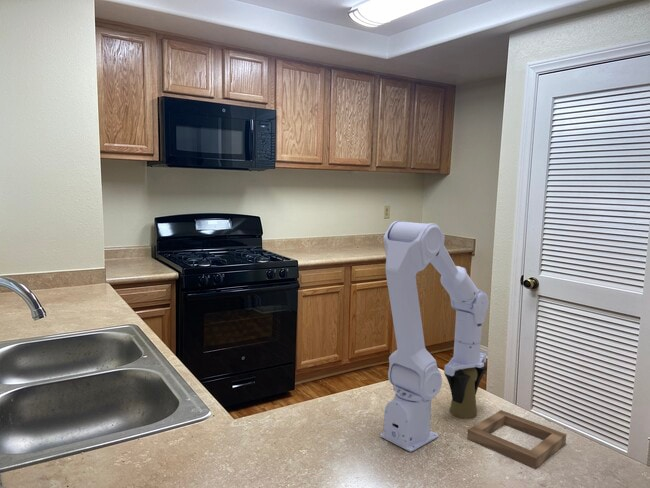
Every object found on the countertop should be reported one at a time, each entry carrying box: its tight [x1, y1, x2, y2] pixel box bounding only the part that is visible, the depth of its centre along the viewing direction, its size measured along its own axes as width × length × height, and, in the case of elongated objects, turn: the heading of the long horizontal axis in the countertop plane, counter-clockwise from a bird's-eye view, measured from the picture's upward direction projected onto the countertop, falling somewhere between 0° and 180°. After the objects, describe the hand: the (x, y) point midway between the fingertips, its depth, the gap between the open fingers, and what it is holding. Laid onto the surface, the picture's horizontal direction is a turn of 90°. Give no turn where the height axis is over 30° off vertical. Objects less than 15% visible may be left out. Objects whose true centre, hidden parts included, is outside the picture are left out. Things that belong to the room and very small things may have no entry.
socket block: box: [466, 409, 567, 469], centre depth 97 cm, size 14×14×2 cm
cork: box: [449, 367, 478, 420], centre depth 109 cm, size 6×6×11 cm
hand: (463, 398), depth 109 cm, fingers closed on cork, 5 cm apart
